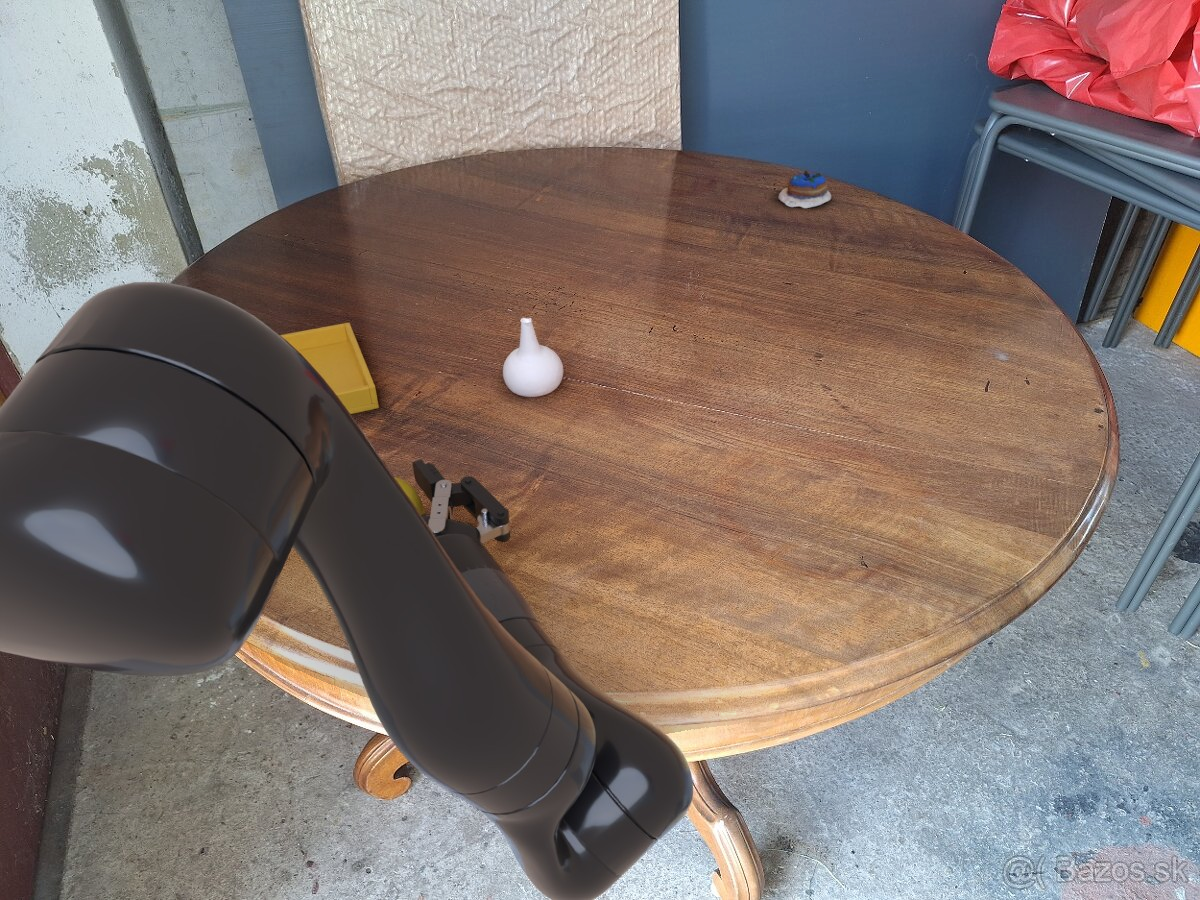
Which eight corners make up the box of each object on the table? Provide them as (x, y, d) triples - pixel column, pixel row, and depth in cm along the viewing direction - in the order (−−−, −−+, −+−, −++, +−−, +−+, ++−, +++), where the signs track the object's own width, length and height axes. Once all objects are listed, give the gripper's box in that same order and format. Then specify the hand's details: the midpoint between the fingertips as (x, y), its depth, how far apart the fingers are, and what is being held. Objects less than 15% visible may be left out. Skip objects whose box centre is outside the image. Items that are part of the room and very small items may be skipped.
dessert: (818, 182, 139) (829, 159, 133) (830, 218, 137) (842, 197, 131) (769, 189, 138) (779, 166, 132) (780, 226, 136) (791, 205, 130)
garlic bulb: (573, 377, 95) (572, 310, 90) (545, 407, 91) (542, 338, 86) (522, 363, 97) (518, 297, 93) (492, 392, 93) (486, 324, 88)
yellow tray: (231, 440, 86) (225, 418, 84) (220, 368, 96) (214, 347, 95) (379, 408, 90) (375, 386, 89) (353, 342, 101) (349, 322, 99)
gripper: (557, 535, 61) (452, 417, 72) (356, 621, 55) (275, 477, 66) (560, 611, 66) (460, 489, 77) (374, 698, 59) (295, 551, 71)
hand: (375, 484), depth 71 cm, fingers open, 6 cm apart
